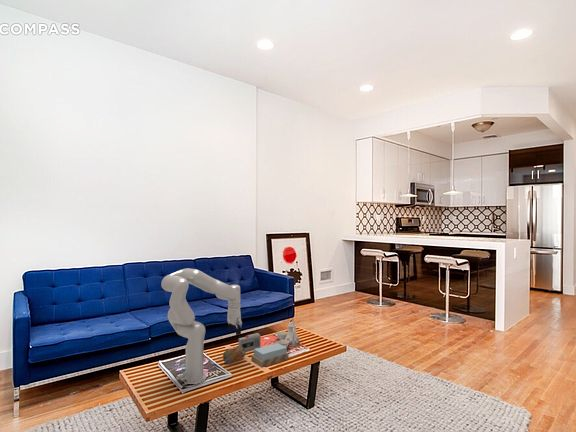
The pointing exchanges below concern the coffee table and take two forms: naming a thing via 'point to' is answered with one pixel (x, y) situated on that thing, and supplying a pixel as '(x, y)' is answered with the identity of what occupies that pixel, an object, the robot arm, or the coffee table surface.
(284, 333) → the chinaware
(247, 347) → the cassette player
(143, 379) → the coffee table surface
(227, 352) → the brown rounded slab
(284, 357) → the tower base
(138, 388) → the coffee table surface
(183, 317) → the robot arm
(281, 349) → the blue-grey rectangular block
